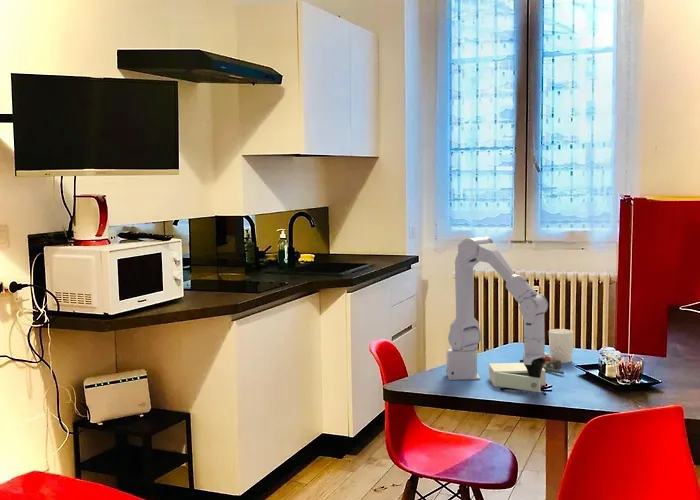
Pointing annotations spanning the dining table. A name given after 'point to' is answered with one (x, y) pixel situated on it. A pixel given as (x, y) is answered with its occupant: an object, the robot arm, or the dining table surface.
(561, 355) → the white cup
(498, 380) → the side door
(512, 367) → the device housing
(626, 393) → the dining table surface
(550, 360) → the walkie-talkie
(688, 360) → the dining table surface
